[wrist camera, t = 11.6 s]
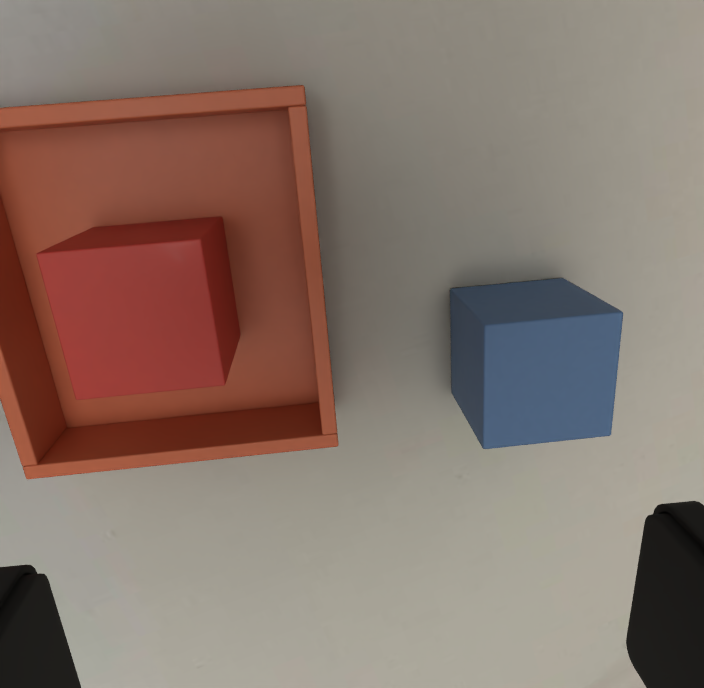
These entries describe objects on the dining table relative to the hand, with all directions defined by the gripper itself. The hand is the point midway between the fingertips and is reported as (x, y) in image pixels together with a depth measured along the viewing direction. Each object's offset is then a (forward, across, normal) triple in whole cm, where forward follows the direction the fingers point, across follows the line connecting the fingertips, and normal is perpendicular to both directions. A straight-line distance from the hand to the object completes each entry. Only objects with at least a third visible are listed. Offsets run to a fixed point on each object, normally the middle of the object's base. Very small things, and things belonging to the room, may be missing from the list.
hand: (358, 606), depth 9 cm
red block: (+16, +6, -2) cm, 17 cm away
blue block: (+16, -8, +2) cm, 18 cm away
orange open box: (+16, +6, -2) cm, 18 cm away
